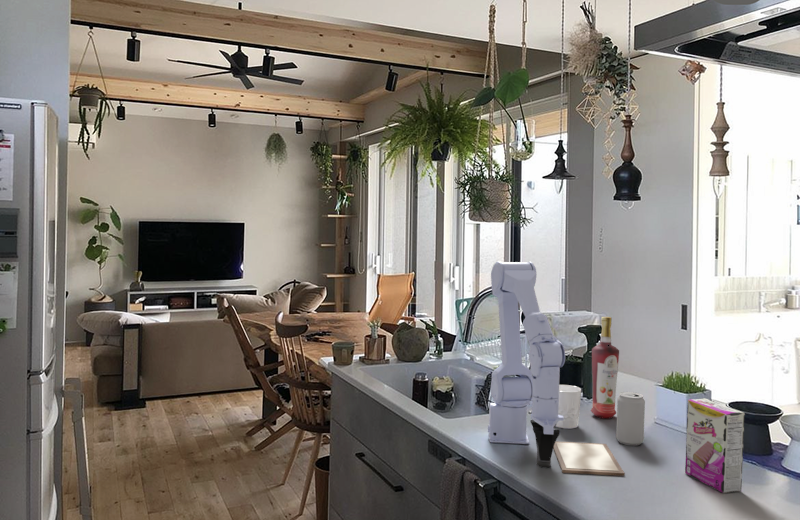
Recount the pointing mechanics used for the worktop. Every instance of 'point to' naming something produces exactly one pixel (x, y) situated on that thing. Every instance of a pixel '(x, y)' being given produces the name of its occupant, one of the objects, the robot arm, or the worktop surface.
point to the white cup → (569, 406)
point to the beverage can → (630, 418)
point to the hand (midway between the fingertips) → (543, 456)
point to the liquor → (604, 373)
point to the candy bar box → (715, 444)
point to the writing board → (586, 458)
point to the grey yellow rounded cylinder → (541, 462)
